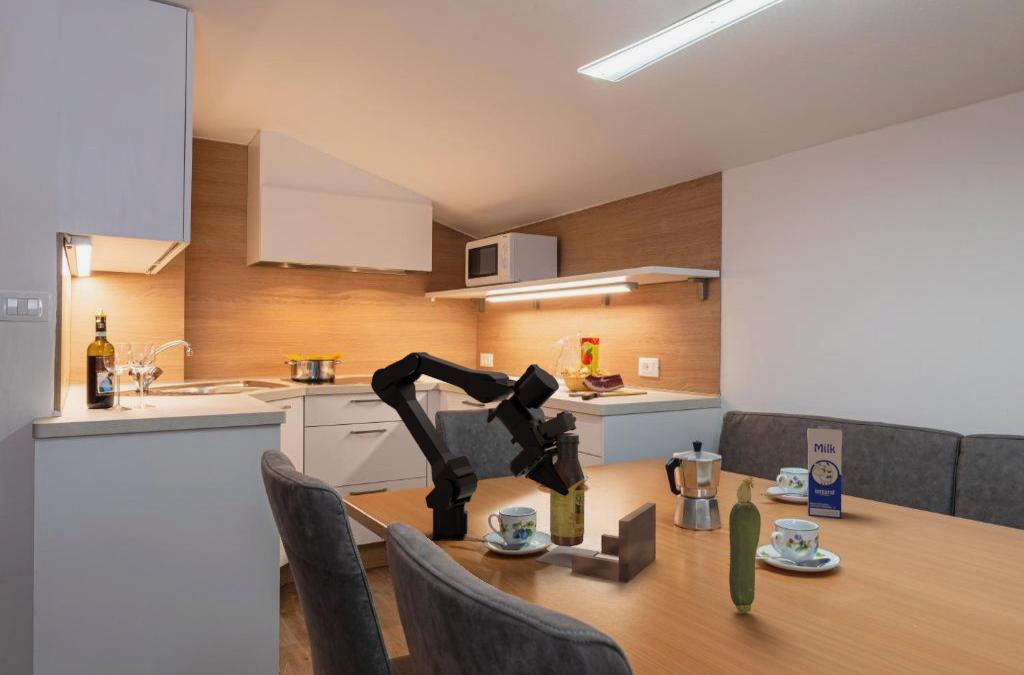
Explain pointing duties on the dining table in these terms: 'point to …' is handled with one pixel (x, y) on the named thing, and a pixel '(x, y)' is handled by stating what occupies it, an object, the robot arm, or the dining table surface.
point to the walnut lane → (623, 548)
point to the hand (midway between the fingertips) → (574, 490)
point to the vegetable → (743, 547)
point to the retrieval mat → (564, 555)
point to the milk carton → (824, 471)
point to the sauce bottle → (568, 495)
